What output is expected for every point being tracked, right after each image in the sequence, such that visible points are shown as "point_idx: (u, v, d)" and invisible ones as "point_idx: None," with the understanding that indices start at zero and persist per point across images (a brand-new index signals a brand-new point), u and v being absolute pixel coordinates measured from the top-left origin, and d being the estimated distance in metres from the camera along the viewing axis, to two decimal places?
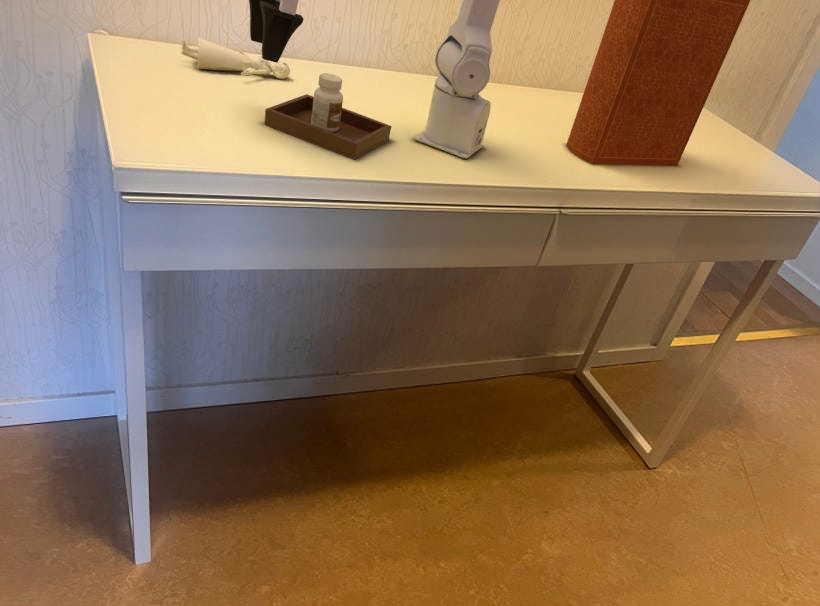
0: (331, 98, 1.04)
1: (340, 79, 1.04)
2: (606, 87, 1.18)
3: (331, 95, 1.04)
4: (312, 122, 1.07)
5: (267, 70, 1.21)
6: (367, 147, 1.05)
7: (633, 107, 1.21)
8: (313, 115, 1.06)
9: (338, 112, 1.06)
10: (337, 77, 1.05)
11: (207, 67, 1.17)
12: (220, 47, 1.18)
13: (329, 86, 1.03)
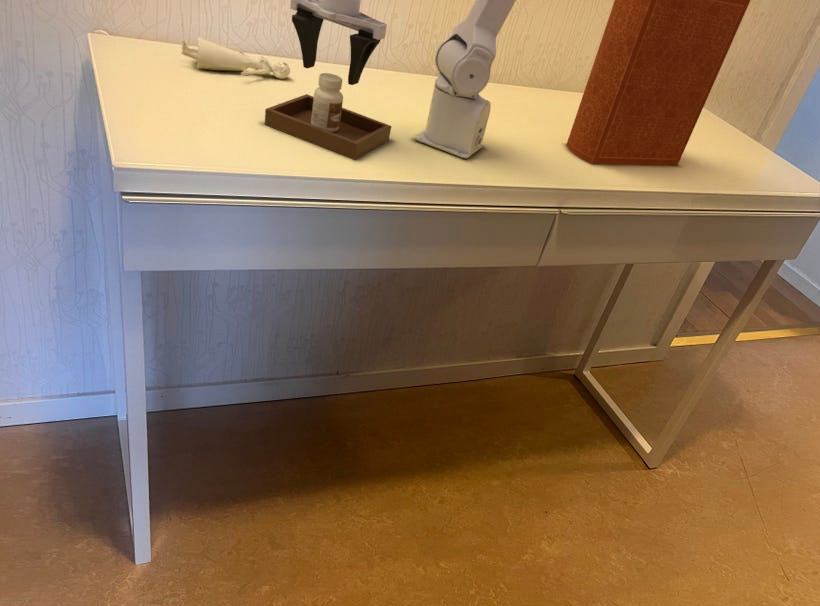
0: (331, 98, 1.04)
1: (340, 79, 1.04)
2: (606, 87, 1.18)
3: (331, 95, 1.04)
4: (312, 122, 1.07)
5: (267, 70, 1.21)
6: (367, 147, 1.05)
7: (633, 107, 1.21)
8: (313, 115, 1.06)
9: (338, 112, 1.06)
10: (337, 77, 1.05)
11: (207, 67, 1.17)
12: (220, 47, 1.18)
13: (329, 86, 1.03)
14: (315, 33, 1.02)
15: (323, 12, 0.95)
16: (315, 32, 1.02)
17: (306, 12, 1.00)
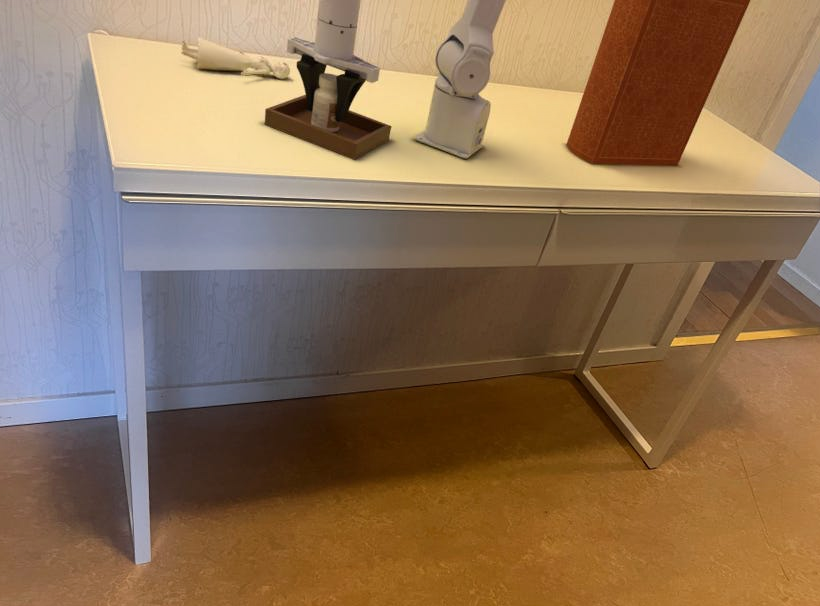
0: (331, 98, 1.04)
1: None
2: (606, 87, 1.18)
3: (331, 95, 1.04)
4: (312, 122, 1.07)
5: (267, 70, 1.21)
6: (367, 147, 1.05)
7: (633, 107, 1.21)
8: (313, 115, 1.06)
9: None
10: None
11: (207, 67, 1.17)
12: (220, 47, 1.18)
13: (330, 86, 1.03)
14: None
15: (318, 57, 0.99)
16: (318, 77, 1.05)
17: (310, 59, 1.03)
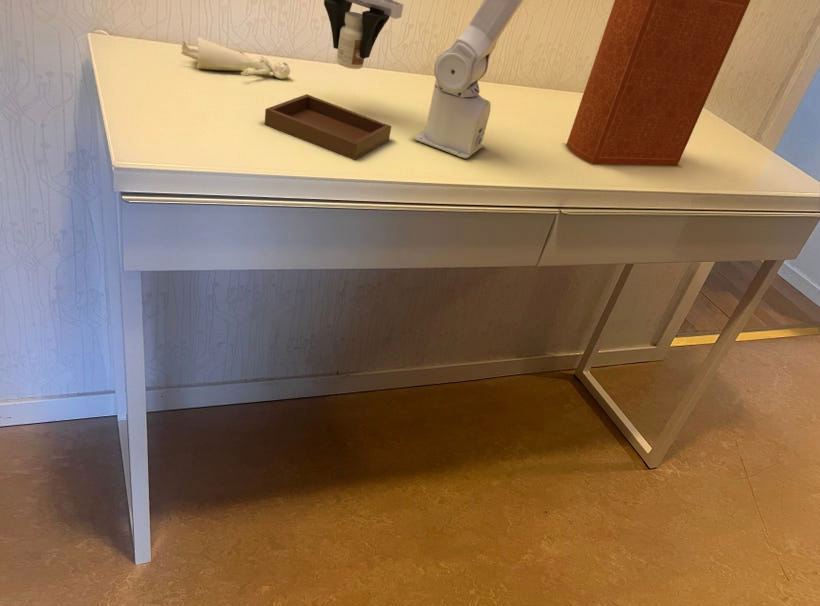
0: (357, 35, 1.10)
1: None
2: (606, 87, 1.18)
3: (356, 32, 1.10)
4: (338, 59, 1.13)
5: (267, 70, 1.21)
6: (367, 147, 1.05)
7: (633, 107, 1.21)
8: (339, 52, 1.12)
9: None
10: None
11: (207, 67, 1.17)
12: (220, 47, 1.18)
13: (355, 23, 1.09)
14: (344, 16, 1.11)
15: None
16: (344, 16, 1.11)
17: None
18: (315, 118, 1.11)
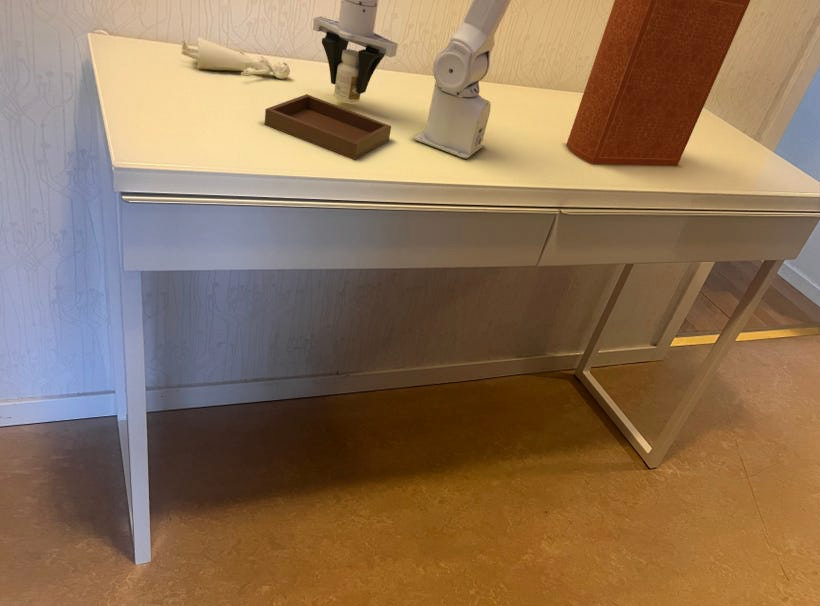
0: (353, 72, 1.14)
1: None
2: (606, 87, 1.18)
3: (353, 69, 1.14)
4: (335, 94, 1.17)
5: (267, 70, 1.21)
6: (367, 147, 1.05)
7: (633, 107, 1.21)
8: (336, 88, 1.17)
9: None
10: None
11: (207, 67, 1.17)
12: (220, 47, 1.18)
13: (352, 61, 1.14)
14: (341, 53, 1.16)
15: (342, 33, 1.09)
16: (341, 53, 1.16)
17: (334, 36, 1.13)
18: (315, 118, 1.11)
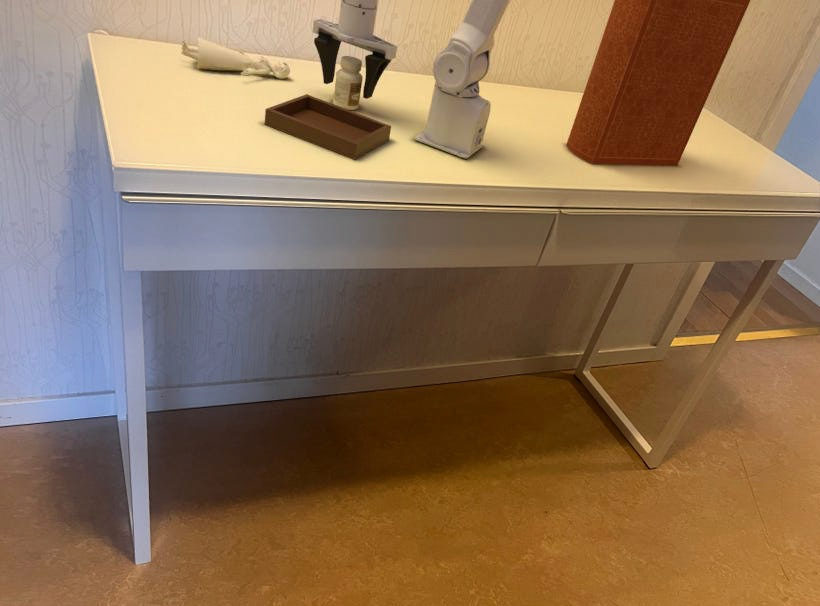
0: (352, 78, 1.15)
1: (360, 61, 1.15)
2: (606, 87, 1.18)
3: (352, 75, 1.15)
4: (334, 101, 1.18)
5: (267, 70, 1.21)
6: (367, 147, 1.05)
7: (633, 107, 1.21)
8: (335, 94, 1.17)
9: (358, 91, 1.17)
10: (357, 59, 1.16)
11: (207, 67, 1.17)
12: (220, 47, 1.18)
13: (351, 68, 1.14)
14: (334, 53, 1.17)
15: (342, 36, 1.10)
16: (334, 53, 1.16)
17: (327, 35, 1.14)
18: (315, 118, 1.11)
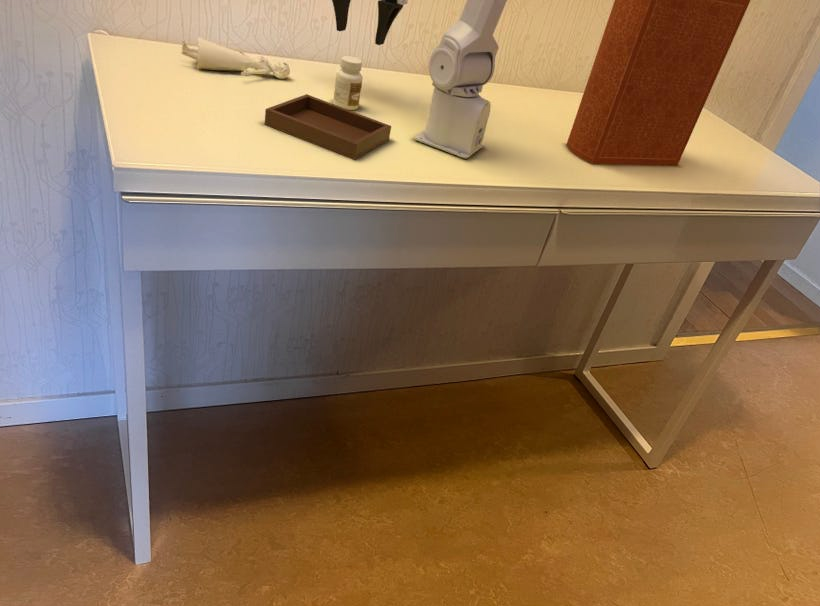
0: (352, 78, 1.15)
1: (360, 61, 1.15)
2: (606, 87, 1.18)
3: (352, 75, 1.15)
4: (334, 101, 1.18)
5: (267, 70, 1.21)
6: (367, 147, 1.05)
7: (633, 107, 1.21)
8: (335, 94, 1.17)
9: (358, 91, 1.17)
10: (357, 59, 1.16)
11: (207, 67, 1.17)
12: (220, 47, 1.18)
13: (351, 68, 1.14)
14: (347, 0, 1.19)
15: None
16: (346, 0, 1.19)
17: None
18: (315, 118, 1.11)
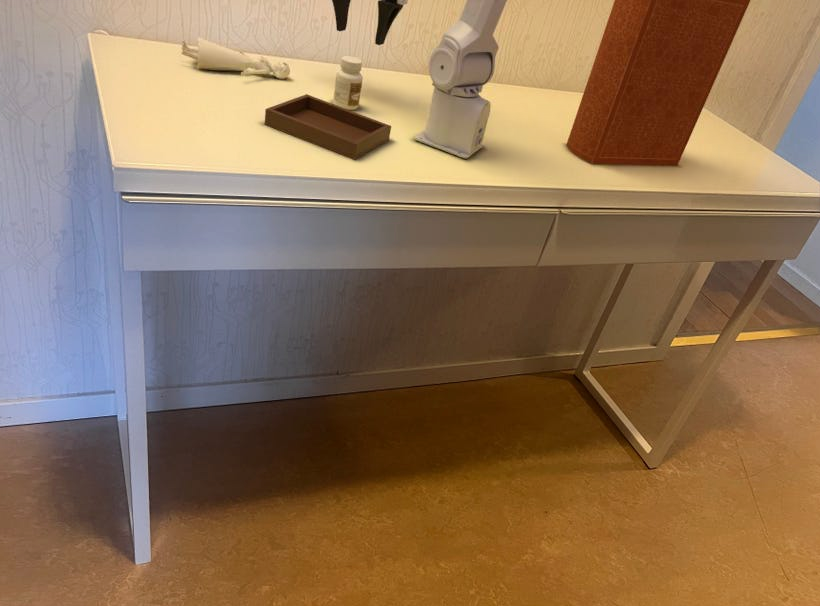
0: (352, 78, 1.15)
1: (360, 61, 1.15)
2: (606, 87, 1.18)
3: (352, 75, 1.15)
4: (334, 101, 1.18)
5: (267, 70, 1.21)
6: (367, 147, 1.05)
7: (633, 107, 1.21)
8: (335, 94, 1.17)
9: (358, 91, 1.17)
10: (357, 59, 1.16)
11: (207, 67, 1.17)
12: (220, 47, 1.18)
13: (351, 68, 1.14)
14: (347, 0, 1.19)
15: None
16: (346, 0, 1.19)
17: None
18: (315, 118, 1.11)
